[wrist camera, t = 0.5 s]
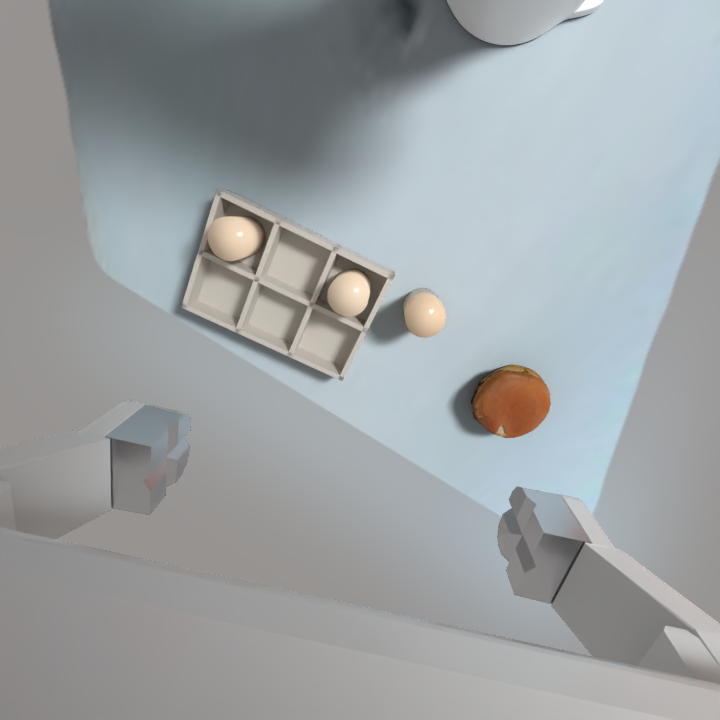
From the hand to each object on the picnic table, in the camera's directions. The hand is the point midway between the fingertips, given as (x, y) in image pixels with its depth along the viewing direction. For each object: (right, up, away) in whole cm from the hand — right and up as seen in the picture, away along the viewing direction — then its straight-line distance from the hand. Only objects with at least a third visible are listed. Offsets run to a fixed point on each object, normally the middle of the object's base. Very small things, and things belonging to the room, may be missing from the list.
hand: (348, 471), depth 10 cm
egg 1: (-13, +18, +39) cm, 45 cm away
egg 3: (+8, +10, +41) cm, 43 cm away
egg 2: (-1, +12, +40) cm, 42 cm away
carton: (-8, +12, +41) cm, 44 cm away
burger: (+20, -2, +45) cm, 49 cm away
